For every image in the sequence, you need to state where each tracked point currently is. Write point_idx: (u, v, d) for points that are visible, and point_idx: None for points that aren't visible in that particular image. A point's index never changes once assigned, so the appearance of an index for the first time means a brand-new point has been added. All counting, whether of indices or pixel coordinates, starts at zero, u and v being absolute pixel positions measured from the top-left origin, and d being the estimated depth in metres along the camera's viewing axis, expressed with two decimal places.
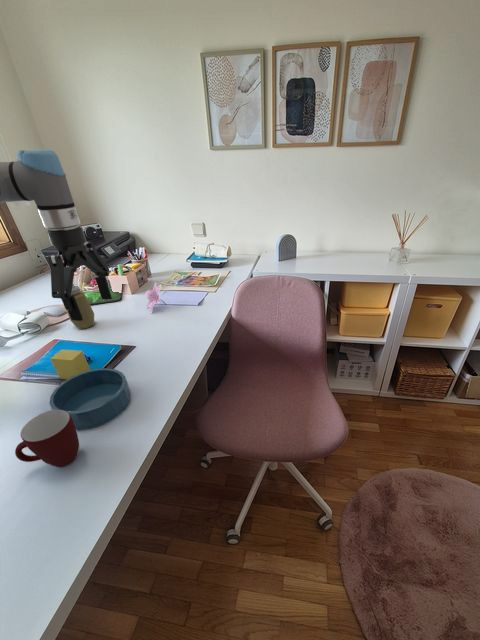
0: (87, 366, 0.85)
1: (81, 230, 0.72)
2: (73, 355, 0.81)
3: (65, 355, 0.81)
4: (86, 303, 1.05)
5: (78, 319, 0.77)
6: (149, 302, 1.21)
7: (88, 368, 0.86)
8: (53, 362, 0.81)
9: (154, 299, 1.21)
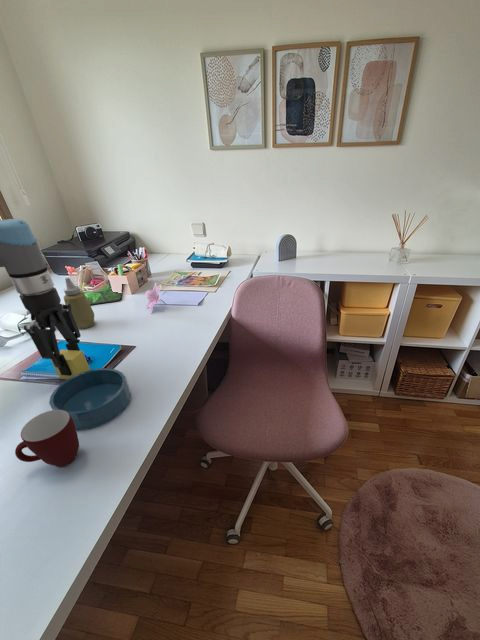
0: (87, 366, 0.85)
1: (54, 292, 0.72)
2: (73, 355, 0.81)
3: (65, 355, 0.81)
4: (86, 303, 1.05)
5: (67, 374, 0.81)
6: (149, 302, 1.21)
7: (88, 368, 0.86)
8: None
9: (154, 299, 1.21)
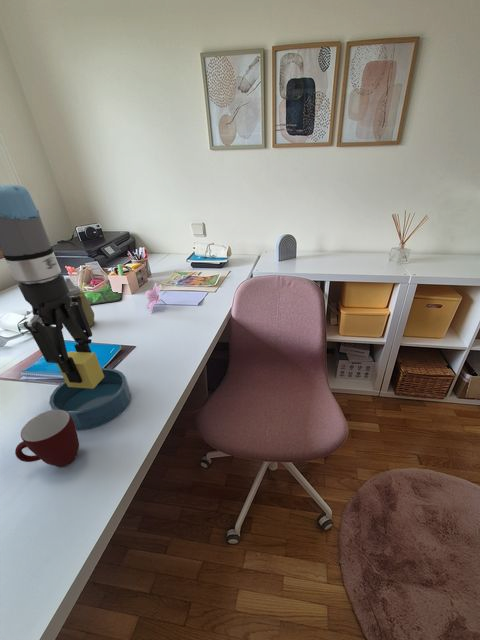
0: (100, 371, 0.71)
1: (62, 280, 0.58)
2: (84, 359, 0.67)
3: (75, 358, 0.67)
4: (86, 303, 1.05)
5: (77, 381, 0.67)
6: (149, 302, 1.21)
7: (101, 373, 0.71)
8: None
9: (154, 299, 1.21)
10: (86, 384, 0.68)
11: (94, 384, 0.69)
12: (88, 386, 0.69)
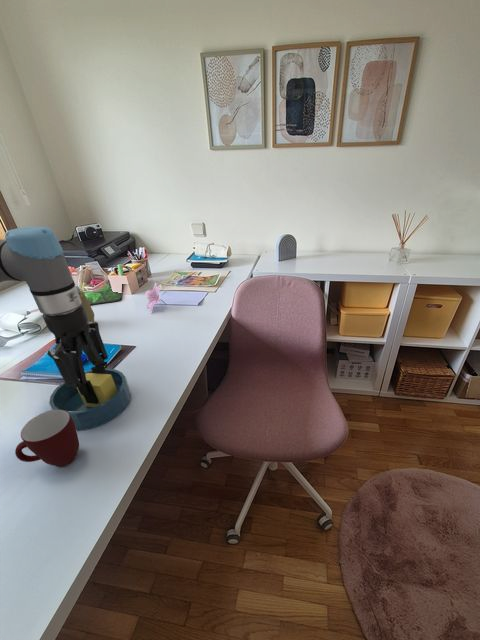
0: (116, 391, 0.75)
1: (82, 311, 0.62)
2: (100, 380, 0.70)
3: (92, 380, 0.71)
4: (86, 303, 1.05)
5: (94, 402, 0.71)
6: (149, 302, 1.21)
7: None
8: None
9: (154, 299, 1.21)
10: None
11: None
12: None
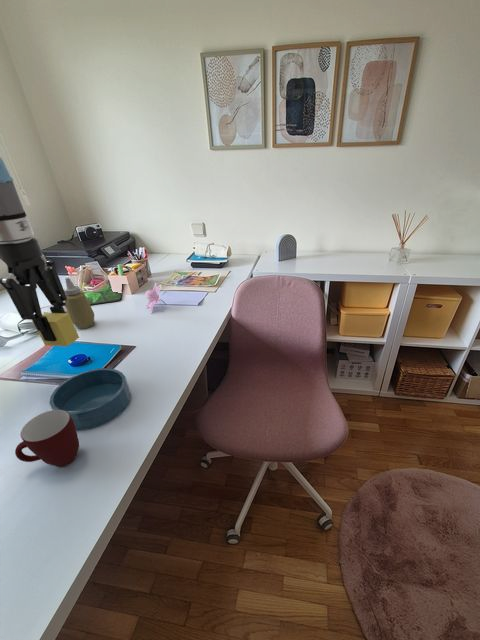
0: (74, 331, 0.77)
1: (35, 243, 0.64)
2: (57, 318, 0.73)
3: (49, 317, 0.73)
4: (86, 303, 1.05)
5: (51, 340, 0.74)
6: (149, 302, 1.21)
7: (76, 334, 0.77)
8: None
9: (154, 299, 1.21)
10: (60, 342, 0.75)
11: (68, 342, 0.75)
12: (62, 344, 0.75)
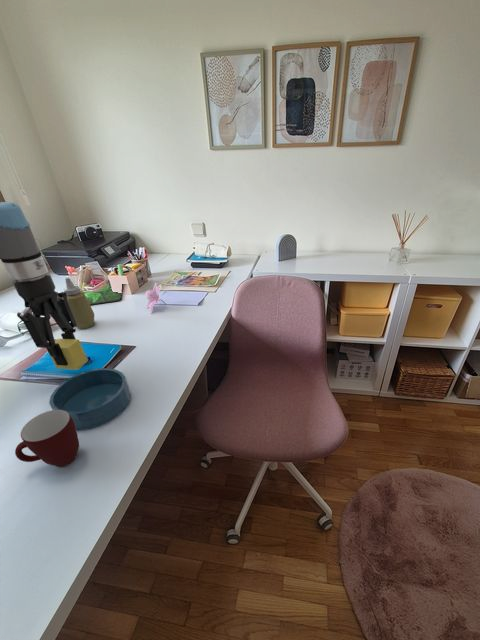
0: (84, 355, 0.83)
1: (49, 279, 0.70)
2: (69, 344, 0.79)
3: (61, 344, 0.79)
4: (86, 303, 1.05)
5: (63, 364, 0.80)
6: (149, 302, 1.21)
7: (85, 357, 0.84)
8: None
9: (154, 299, 1.21)
10: (71, 366, 0.81)
11: (78, 366, 0.81)
12: (73, 368, 0.81)
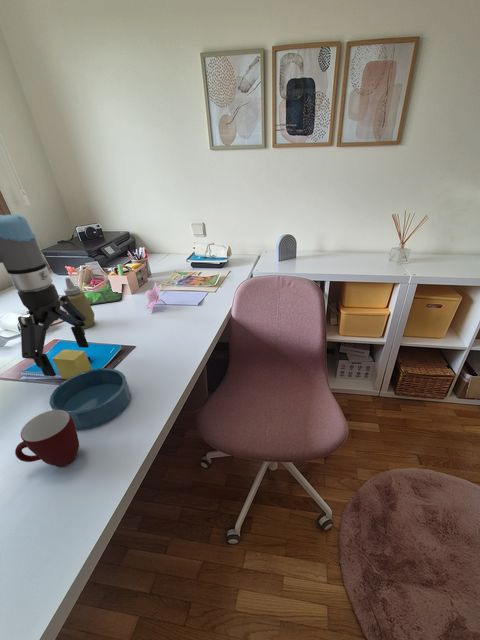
0: (89, 366, 0.85)
1: (53, 289, 0.72)
2: (75, 356, 0.81)
3: (67, 355, 0.81)
4: (86, 303, 1.05)
5: (51, 375, 0.76)
6: (149, 302, 1.21)
7: (90, 368, 0.86)
8: (55, 362, 0.81)
9: (154, 299, 1.21)
10: None
11: None
12: None
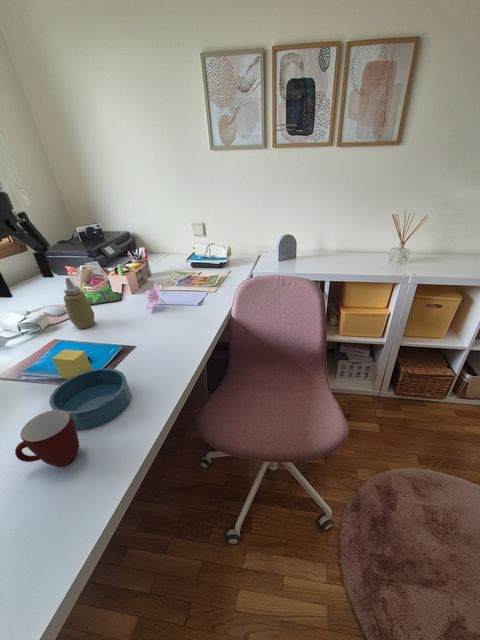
0: (89, 366, 0.85)
1: (5, 195, 0.65)
2: (75, 356, 0.81)
3: (67, 355, 0.81)
4: (86, 303, 1.05)
5: (7, 296, 0.70)
6: (149, 302, 1.21)
7: (90, 368, 0.86)
8: (55, 362, 0.81)
9: (154, 299, 1.21)
10: None
11: None
12: None
